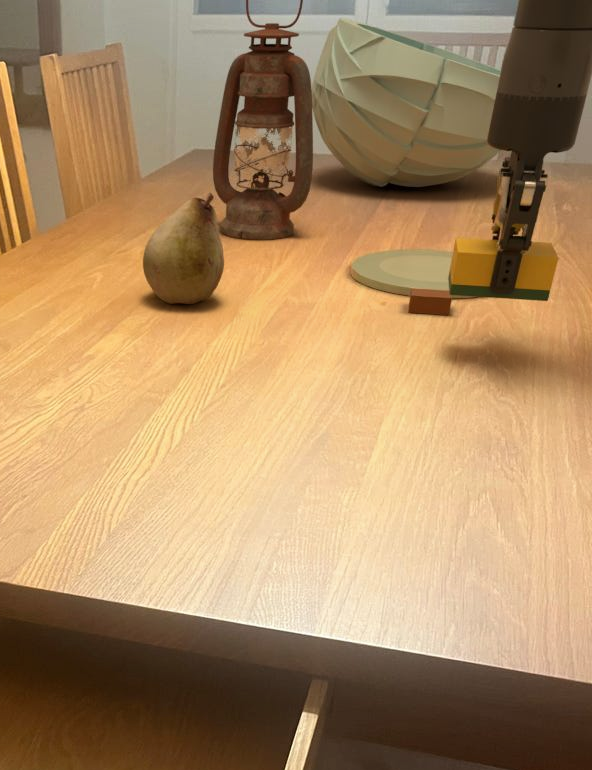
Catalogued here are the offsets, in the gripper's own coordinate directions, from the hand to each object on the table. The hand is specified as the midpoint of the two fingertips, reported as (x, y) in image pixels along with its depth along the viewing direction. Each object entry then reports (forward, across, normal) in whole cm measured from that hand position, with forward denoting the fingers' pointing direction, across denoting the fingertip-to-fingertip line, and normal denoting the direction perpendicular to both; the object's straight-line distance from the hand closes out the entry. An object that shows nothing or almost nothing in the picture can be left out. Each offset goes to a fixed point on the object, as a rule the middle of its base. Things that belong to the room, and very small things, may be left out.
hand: (498, 283), depth 94 cm
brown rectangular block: (+7, +15, +5) cm, 17 cm away
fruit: (+7, +12, +34) cm, 37 cm away
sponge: (+1, 0, 0) cm, 1 cm away
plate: (+7, +30, +5) cm, 31 cm away
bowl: (+7, +92, +9) cm, 93 cm away
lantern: (+7, +50, +30) cm, 59 cm away
